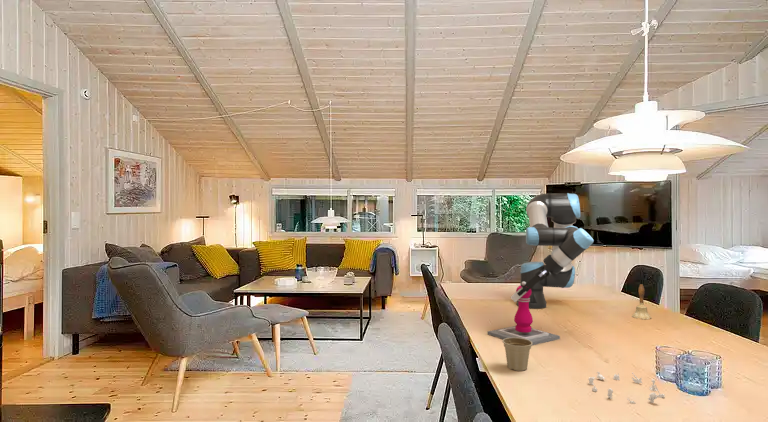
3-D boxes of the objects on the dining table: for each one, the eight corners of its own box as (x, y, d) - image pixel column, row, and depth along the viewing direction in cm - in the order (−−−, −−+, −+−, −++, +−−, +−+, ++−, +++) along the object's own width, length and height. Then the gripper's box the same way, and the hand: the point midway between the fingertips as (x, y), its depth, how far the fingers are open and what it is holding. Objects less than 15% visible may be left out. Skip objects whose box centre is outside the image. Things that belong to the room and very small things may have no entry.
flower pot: (516, 374, 146) (516, 347, 145) (496, 365, 154) (496, 339, 154) (538, 370, 150) (538, 343, 150) (517, 361, 158) (517, 336, 158)
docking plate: (487, 334, 192) (487, 329, 192) (520, 327, 203) (520, 323, 203) (526, 346, 175) (526, 341, 175) (559, 338, 186) (560, 333, 186)
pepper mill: (530, 328, 192) (531, 280, 192) (534, 333, 185) (535, 283, 185) (512, 328, 193) (513, 279, 193) (515, 332, 186) (516, 282, 185)
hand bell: (632, 318, 222) (633, 285, 222) (630, 314, 230) (631, 282, 229) (652, 320, 219) (653, 286, 219) (650, 316, 226) (650, 283, 226)
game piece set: (681, 405, 125) (681, 391, 125) (609, 407, 124) (609, 392, 124) (636, 378, 144) (636, 366, 144) (574, 379, 143) (574, 367, 143)
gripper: (561, 270, 173) (516, 309, 181) (567, 265, 190) (525, 301, 198) (546, 255, 175) (502, 295, 183) (553, 251, 192) (512, 287, 200)
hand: (514, 298), depth 190 cm, fingers closed on pepper mill, 6 cm apart
